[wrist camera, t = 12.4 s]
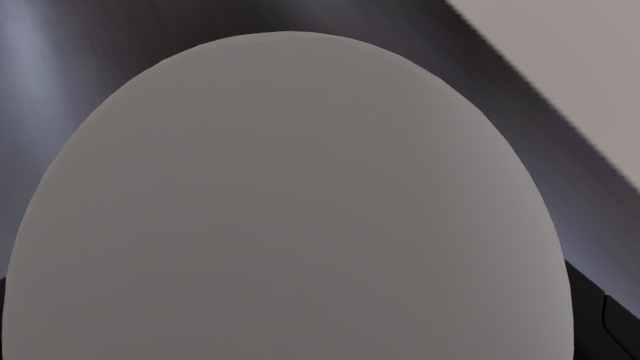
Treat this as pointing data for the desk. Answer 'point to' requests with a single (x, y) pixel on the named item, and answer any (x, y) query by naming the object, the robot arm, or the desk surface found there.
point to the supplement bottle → (287, 219)
